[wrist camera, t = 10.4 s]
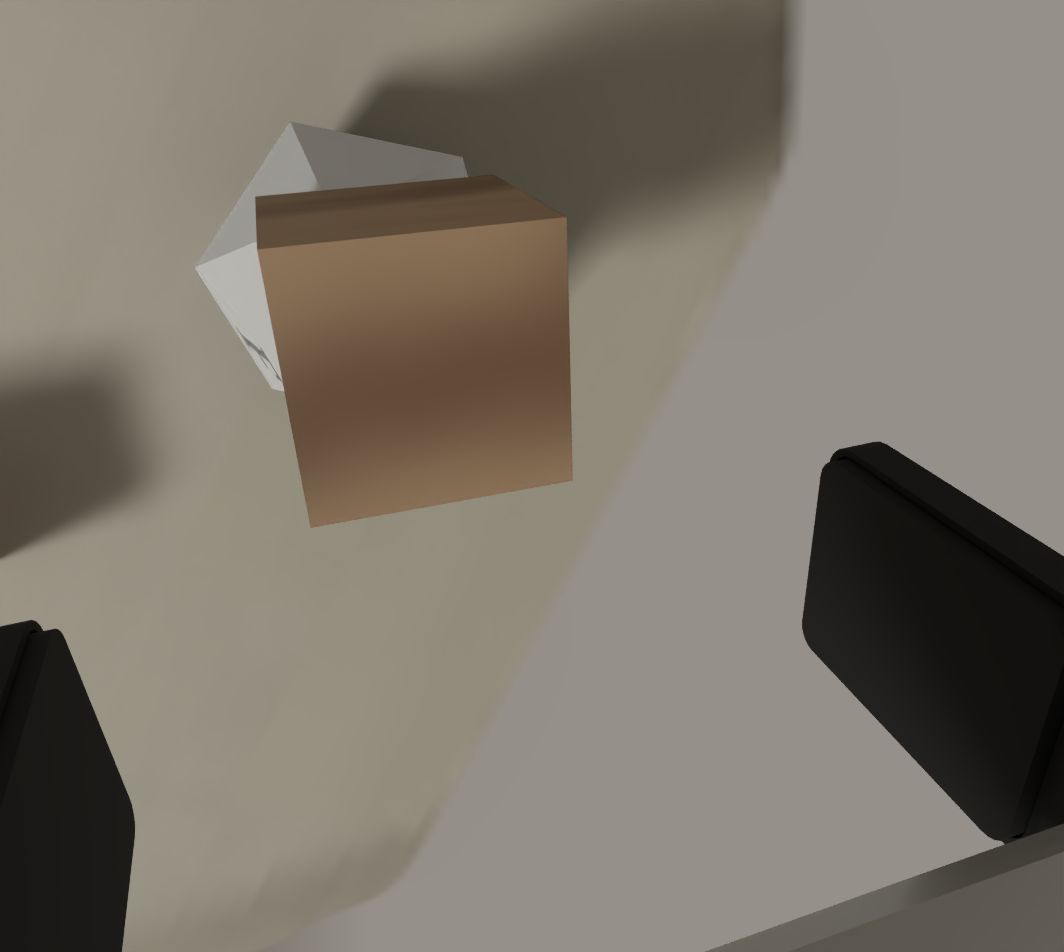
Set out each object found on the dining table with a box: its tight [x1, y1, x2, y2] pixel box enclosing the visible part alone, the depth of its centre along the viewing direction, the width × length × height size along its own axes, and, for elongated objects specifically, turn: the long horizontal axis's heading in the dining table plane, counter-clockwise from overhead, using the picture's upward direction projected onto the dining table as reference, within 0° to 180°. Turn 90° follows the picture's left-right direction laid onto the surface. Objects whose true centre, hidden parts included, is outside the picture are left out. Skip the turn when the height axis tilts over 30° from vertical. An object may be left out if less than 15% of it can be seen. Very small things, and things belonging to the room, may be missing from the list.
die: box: [195, 122, 468, 391], centre depth 26 cm, size 8×9×10 cm
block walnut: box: [255, 175, 573, 528], centre depth 20 cm, size 6×6×6 cm
